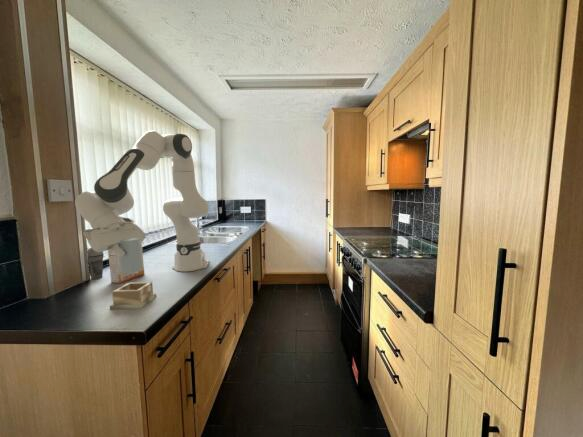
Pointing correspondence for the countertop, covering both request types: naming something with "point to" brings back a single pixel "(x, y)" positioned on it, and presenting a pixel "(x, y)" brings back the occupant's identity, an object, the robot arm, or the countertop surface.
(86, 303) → the countertop surface
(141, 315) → the countertop surface
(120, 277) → the cracker box
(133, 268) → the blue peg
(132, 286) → the cup collar
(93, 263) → the beverage cup
